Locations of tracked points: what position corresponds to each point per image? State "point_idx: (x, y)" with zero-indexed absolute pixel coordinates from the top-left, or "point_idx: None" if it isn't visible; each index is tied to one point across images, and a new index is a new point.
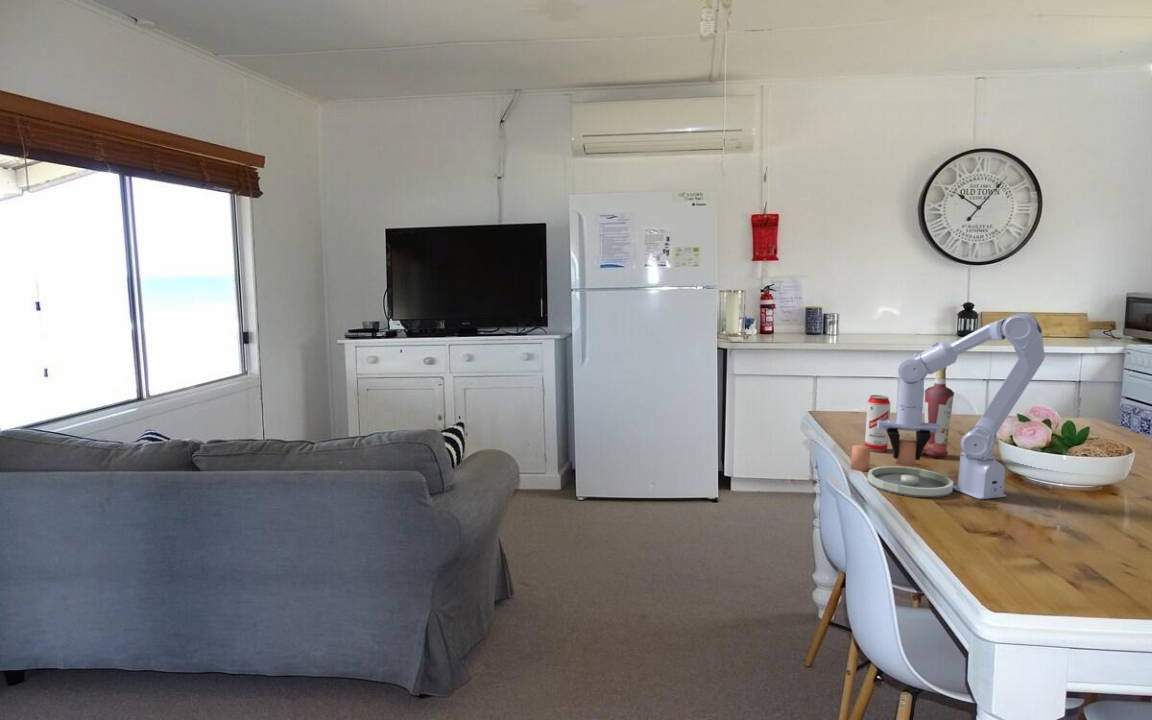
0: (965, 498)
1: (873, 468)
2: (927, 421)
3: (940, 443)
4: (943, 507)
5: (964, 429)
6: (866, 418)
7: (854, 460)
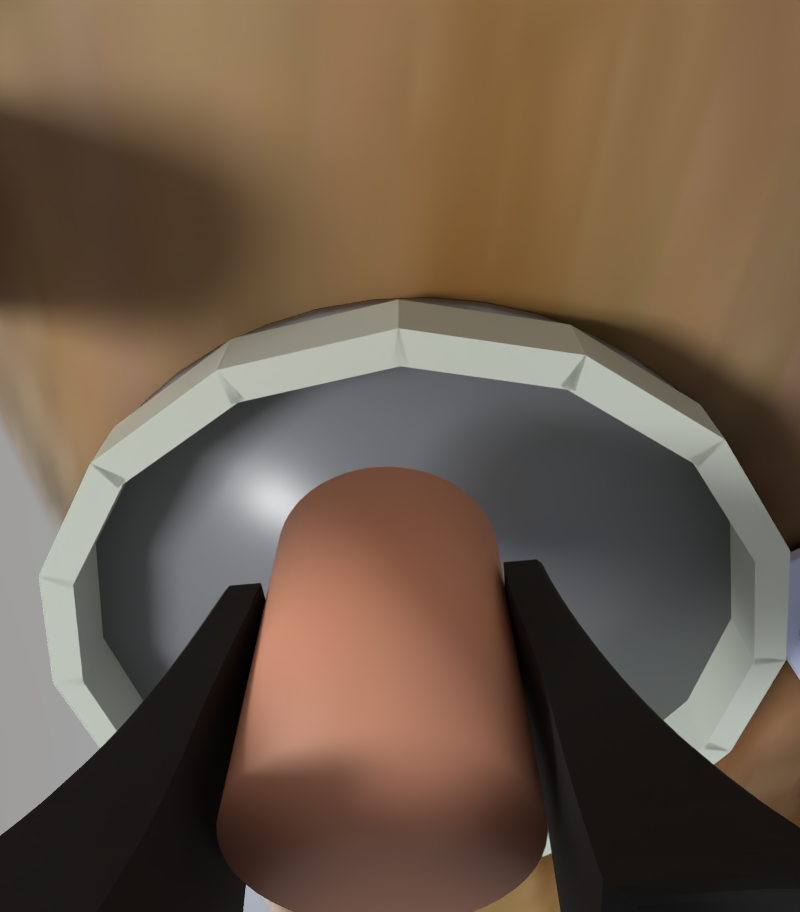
0: (761, 741)
1: (63, 524)
2: None
3: None
4: (556, 889)
5: None
6: None
7: None
